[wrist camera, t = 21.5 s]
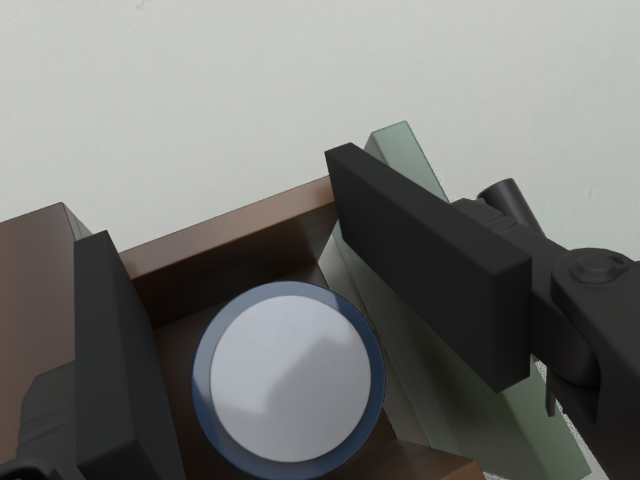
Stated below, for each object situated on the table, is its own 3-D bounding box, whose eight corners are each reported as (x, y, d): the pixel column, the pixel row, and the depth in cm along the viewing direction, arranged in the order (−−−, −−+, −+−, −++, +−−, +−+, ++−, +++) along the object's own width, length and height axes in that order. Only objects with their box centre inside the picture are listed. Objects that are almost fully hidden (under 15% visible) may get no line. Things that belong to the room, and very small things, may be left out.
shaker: (310, 297, 21) (339, 246, 14) (364, 416, 20) (425, 426, 13) (190, 350, 20) (157, 322, 13) (241, 478, 19) (234, 527, 12)
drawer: (432, 185, 24) (526, 75, 16) (544, 399, 22) (720, 399, 14) (68, 329, 21) (-55, 283, 12) (159, 603, 19) (82, 771, 10)
